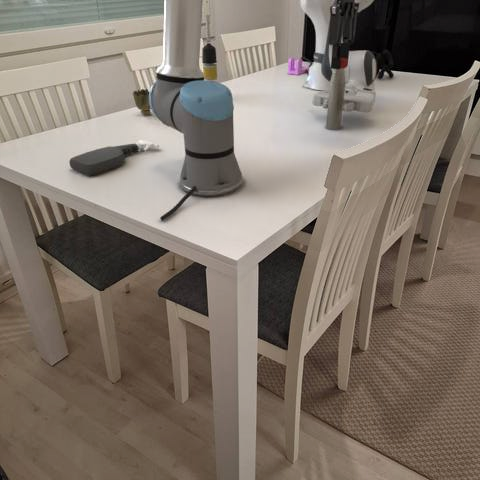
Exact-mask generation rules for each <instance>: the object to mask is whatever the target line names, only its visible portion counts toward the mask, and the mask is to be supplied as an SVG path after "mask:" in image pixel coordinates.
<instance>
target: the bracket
mask: <svg viewBox="0 0 480 480" xmlns="http://www.w3.org/2000/svg"><path fill="white" fill-rule="evenodd" d="M306 70H308V72H309V66H304V65H303V58H302V59H301V58H298V57H297V58H296V60H295V57H289V58H288V61H287V74H288V75H295V76H298V75H301V74H304V73H307V72H306Z"/></svg>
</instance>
